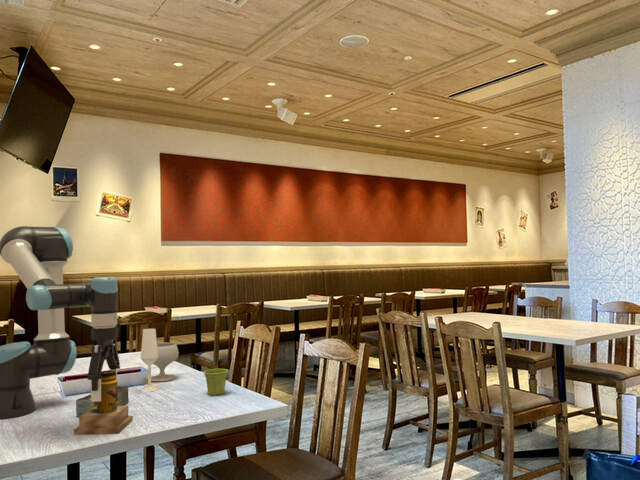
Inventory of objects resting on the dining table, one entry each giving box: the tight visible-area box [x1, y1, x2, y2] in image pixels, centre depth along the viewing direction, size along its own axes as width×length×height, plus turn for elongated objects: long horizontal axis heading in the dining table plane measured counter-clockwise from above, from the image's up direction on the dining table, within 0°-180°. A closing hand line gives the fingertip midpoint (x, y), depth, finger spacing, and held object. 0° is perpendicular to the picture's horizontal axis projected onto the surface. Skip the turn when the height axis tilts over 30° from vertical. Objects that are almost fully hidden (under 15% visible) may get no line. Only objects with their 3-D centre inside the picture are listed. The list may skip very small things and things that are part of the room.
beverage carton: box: [75, 385, 130, 418], centre depth 185 cm, size 8×19×7 cm, turn 166°
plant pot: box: [203, 368, 229, 396], centre depth 204 cm, size 9×9×9 cm
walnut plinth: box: [73, 405, 134, 436], centre depth 165 cm, size 13×13×5 cm
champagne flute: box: [140, 328, 159, 393], centre depth 213 cm, size 7×7×24 cm
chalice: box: [151, 342, 180, 382], centre depth 232 cm, size 14×14×15 cm
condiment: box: [88, 370, 120, 416], centre depth 164 cm, size 7×8×12 cm
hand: (104, 395), depth 165 cm, fingers open, 13 cm apart
